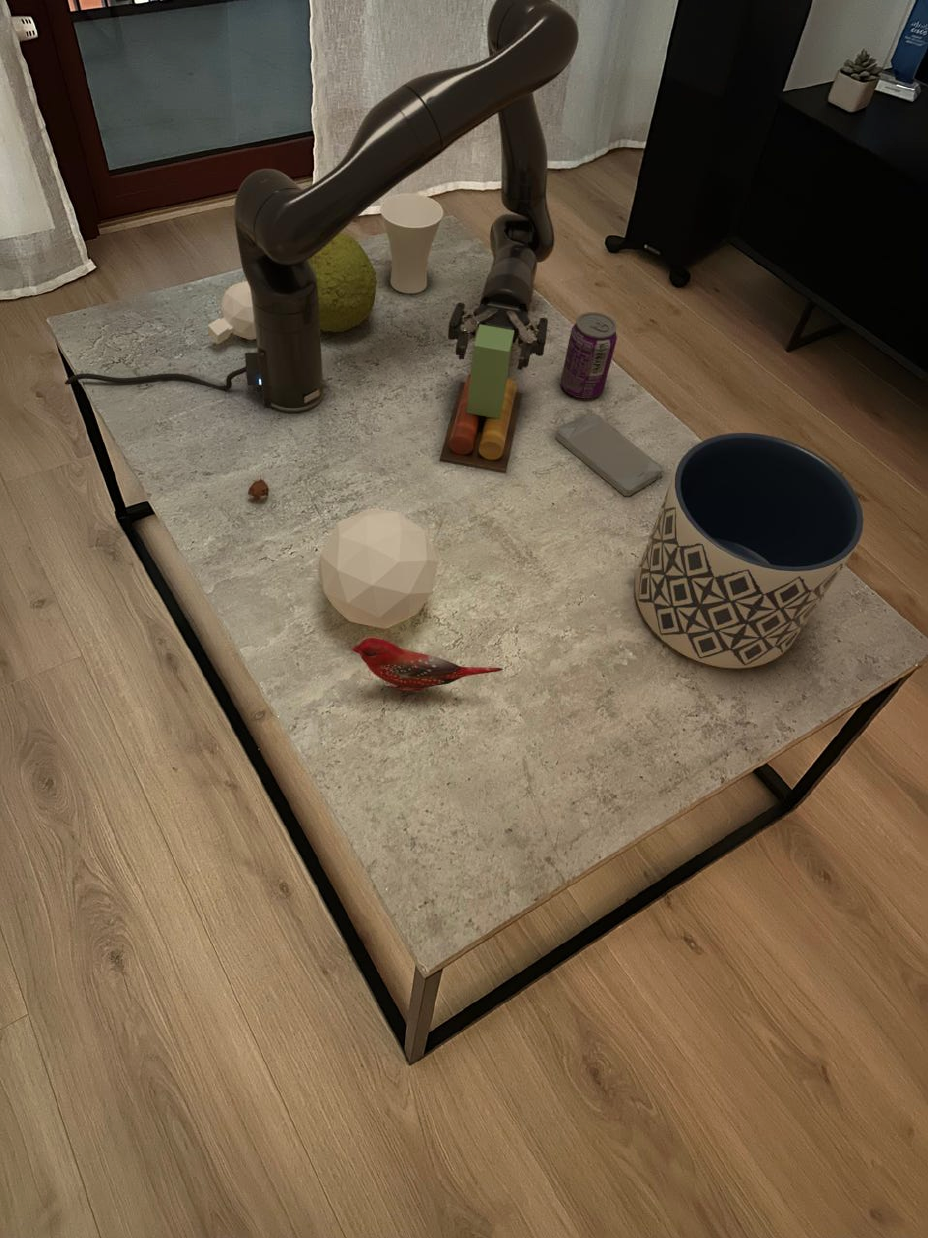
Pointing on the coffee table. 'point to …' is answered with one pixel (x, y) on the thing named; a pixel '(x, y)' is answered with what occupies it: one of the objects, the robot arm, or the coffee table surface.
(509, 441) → the rod rack
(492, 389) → the green bar
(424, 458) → the coffee table surface
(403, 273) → the cup
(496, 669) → the decorative bird figurine
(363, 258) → the fruit
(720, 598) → the planter
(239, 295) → the perfume bottle
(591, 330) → the beverage can
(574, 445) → the phone
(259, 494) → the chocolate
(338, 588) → the geometric sphere
